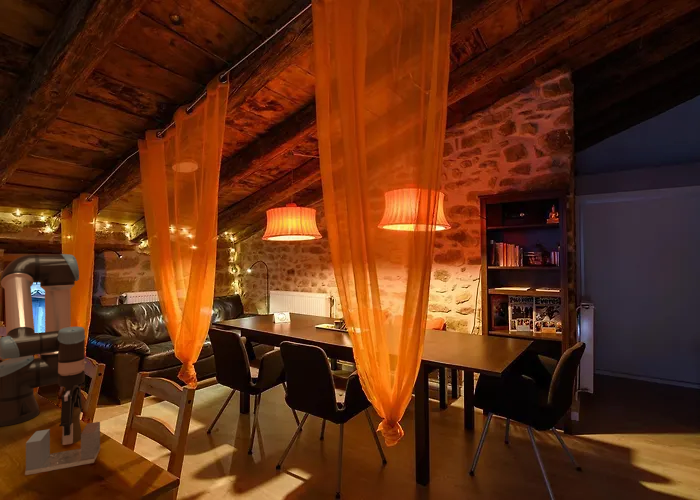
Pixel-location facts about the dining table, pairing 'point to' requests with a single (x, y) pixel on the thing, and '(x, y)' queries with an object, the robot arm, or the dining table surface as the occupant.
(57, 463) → the vise
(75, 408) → the wooden pawn
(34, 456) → the block
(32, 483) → the dining table surface
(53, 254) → the robot arm
